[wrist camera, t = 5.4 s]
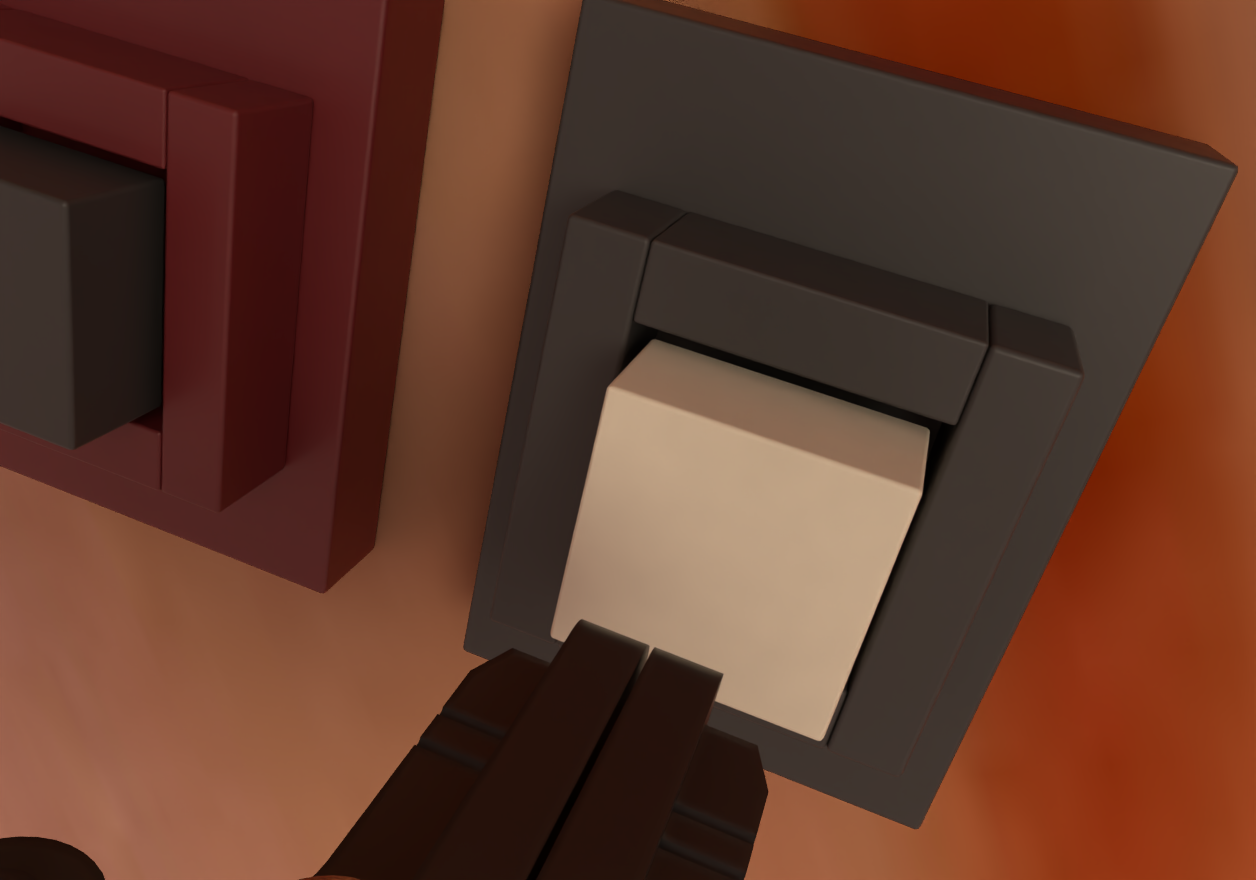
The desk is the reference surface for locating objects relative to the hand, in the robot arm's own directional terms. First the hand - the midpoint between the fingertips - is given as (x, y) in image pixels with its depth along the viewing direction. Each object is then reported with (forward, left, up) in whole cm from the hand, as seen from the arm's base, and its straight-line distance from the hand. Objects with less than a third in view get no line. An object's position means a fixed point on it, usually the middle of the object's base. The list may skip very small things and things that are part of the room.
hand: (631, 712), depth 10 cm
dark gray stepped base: (0, 0, -9) cm, 9 cm away
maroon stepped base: (0, -12, -9) cm, 15 cm away
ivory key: (0, 0, -5) cm, 5 cm away
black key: (0, -12, -5) cm, 13 cm away
